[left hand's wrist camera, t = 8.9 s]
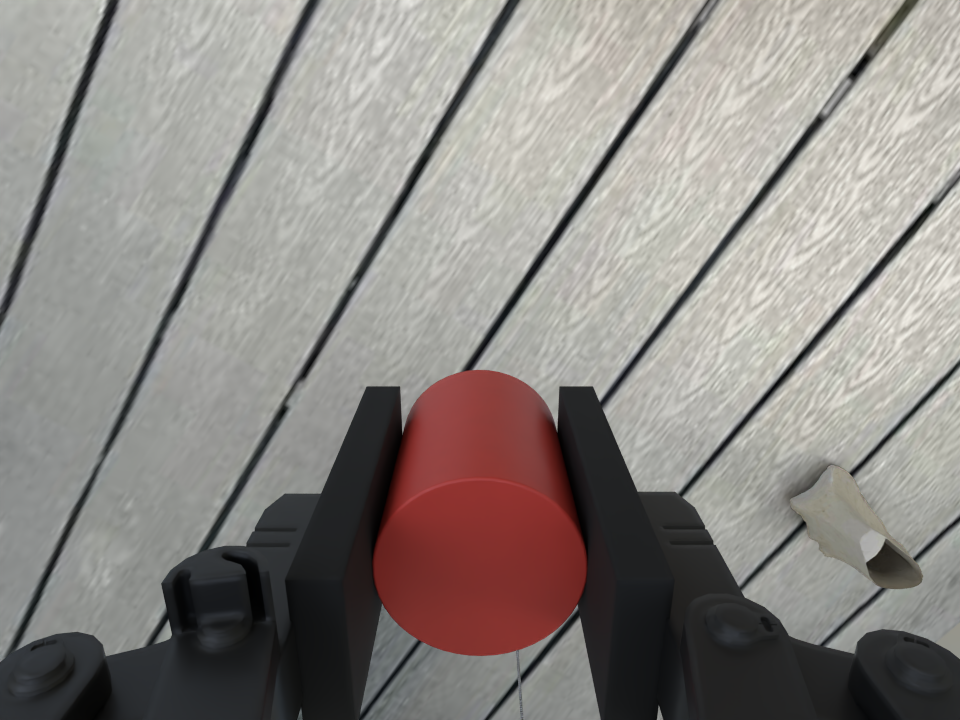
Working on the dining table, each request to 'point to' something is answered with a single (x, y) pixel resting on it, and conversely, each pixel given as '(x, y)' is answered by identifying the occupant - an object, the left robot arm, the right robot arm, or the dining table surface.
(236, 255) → the dining table surface
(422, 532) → the can
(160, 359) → the dining table surface
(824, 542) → the bone
